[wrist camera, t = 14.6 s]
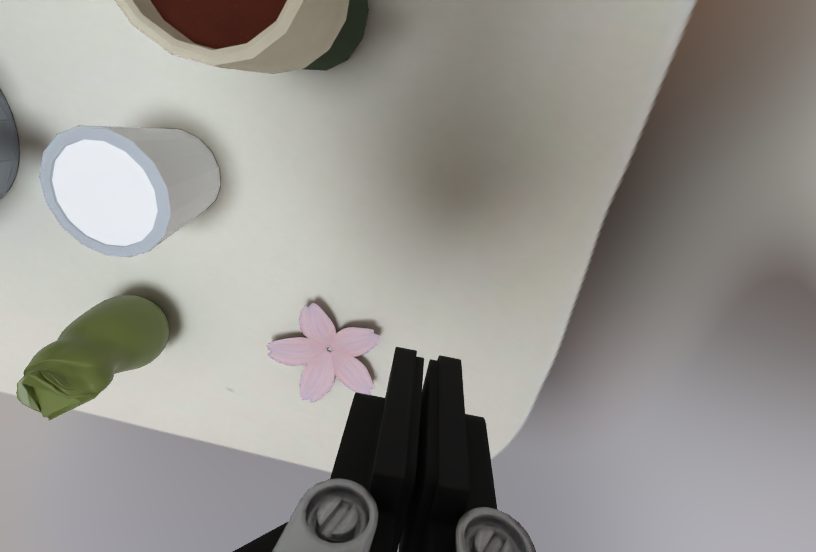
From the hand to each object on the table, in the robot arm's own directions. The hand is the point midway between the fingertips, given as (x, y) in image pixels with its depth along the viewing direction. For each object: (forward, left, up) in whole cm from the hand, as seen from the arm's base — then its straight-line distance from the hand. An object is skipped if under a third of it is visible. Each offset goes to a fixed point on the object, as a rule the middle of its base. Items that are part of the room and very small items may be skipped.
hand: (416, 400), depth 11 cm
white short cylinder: (-4, -16, -19) cm, 26 cm away
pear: (+7, -22, -19) cm, 30 cm away
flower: (+10, -8, -19) cm, 23 cm away
